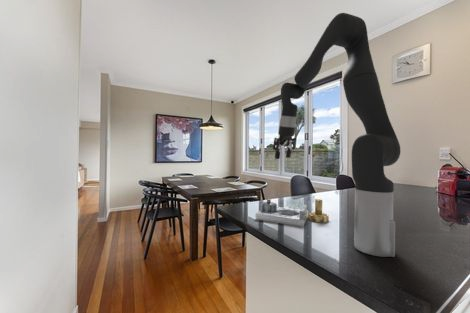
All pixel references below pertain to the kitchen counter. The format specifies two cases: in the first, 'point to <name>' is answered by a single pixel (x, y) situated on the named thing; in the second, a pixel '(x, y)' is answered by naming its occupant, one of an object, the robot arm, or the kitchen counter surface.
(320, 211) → the planet gear
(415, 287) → the kitchen counter surface
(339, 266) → the kitchen counter surface
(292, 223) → the carrier
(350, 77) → the robot arm
